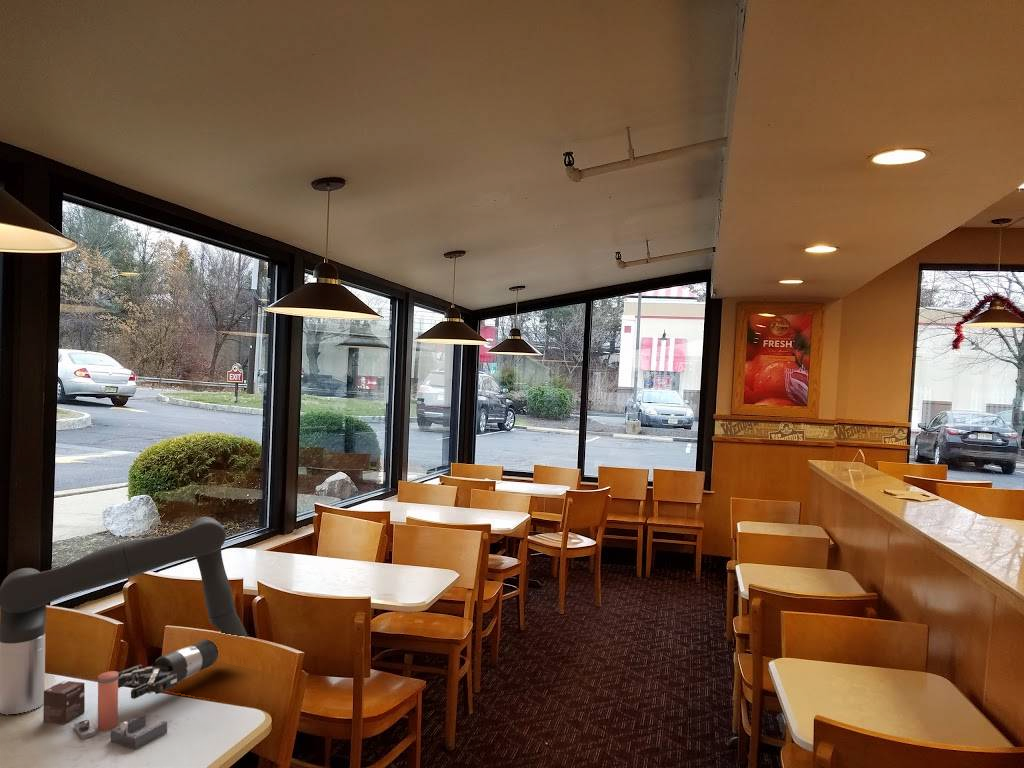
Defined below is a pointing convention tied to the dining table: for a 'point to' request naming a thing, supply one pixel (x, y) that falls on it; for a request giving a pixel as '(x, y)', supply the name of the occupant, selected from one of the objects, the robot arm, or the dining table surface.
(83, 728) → the plate
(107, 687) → the post
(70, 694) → the box
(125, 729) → the bracket
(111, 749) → the dining table surface
